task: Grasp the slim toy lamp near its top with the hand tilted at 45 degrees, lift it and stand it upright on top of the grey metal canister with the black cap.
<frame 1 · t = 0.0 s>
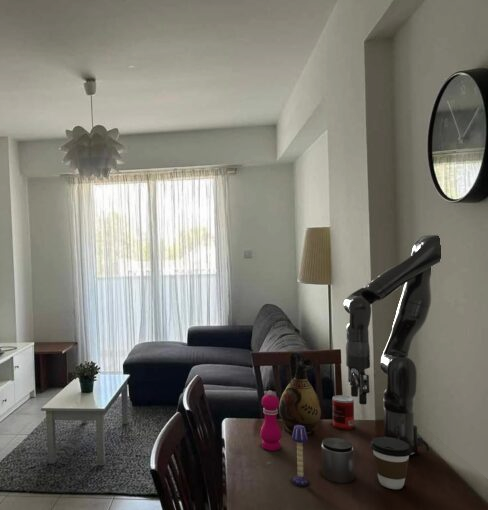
hand: (358, 400, 160), 17 cm above the table, tool pointing down, fingers open, 8 cm apart
ceramic jug: (298, 430, 179), on the table
canned food: (343, 426, 182), on the table
coffee cup: (391, 484, 136), on the table
toy lamp: (300, 482, 138), on the table
pepper mill: (271, 447, 164), on the table
grey metal canister: (337, 475, 142), on the table
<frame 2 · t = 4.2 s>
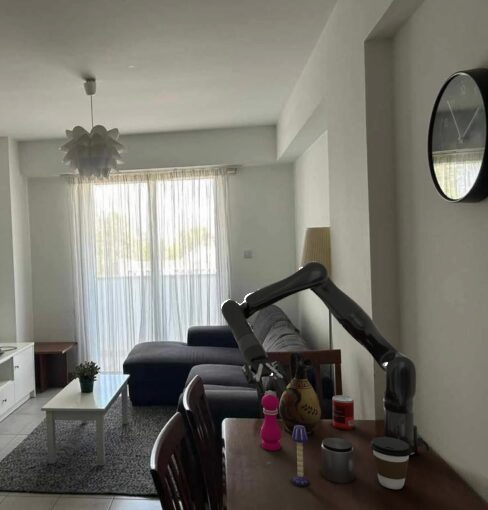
hand: (274, 392, 149), 24 cm above the table, tool tilted 45°, fingers open, 8 cm apart
nothing on the table moved.
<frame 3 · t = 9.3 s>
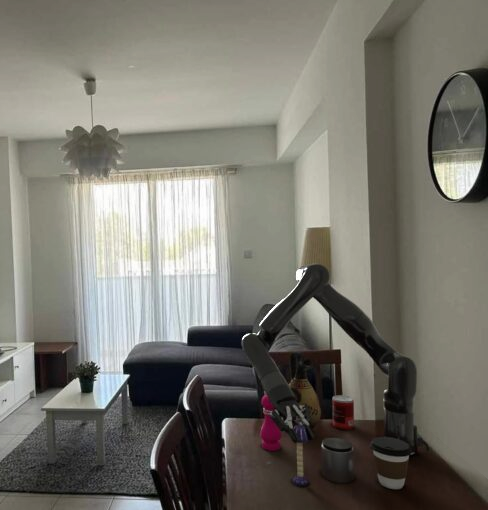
hand: (304, 440, 136), 13 cm above the table, tool tilted 45°, fingers closed on toy lamp, 4 cm apart
toy lamp: (300, 482, 138), on the table, touching gripper
everything else where it was.
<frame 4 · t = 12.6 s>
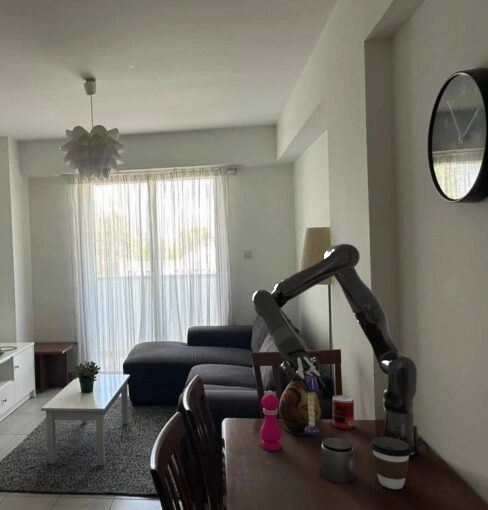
hand: (316, 390, 138), 28 cm above the table, tool tilted 45°, fingers closed on toy lamp, 4 cm apart
toy lamp: (312, 432, 139), point 14 cm above the table, touching gripper
everything else where it was.
when the fingers open (23 cm above the table, at t = 16.1 s): toy lamp stays where it is, resting on grey metal canister.
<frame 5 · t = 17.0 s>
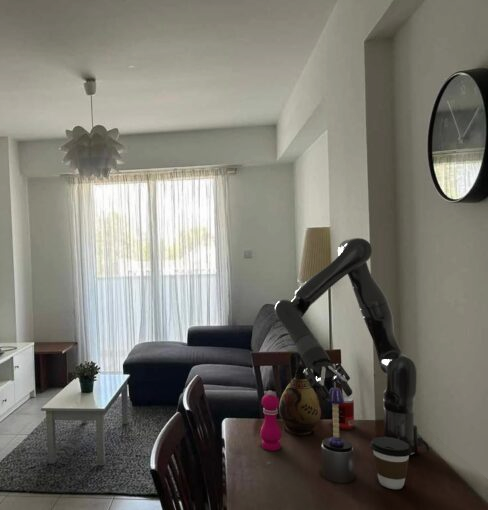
hand: (339, 396, 141), 25 cm above the table, tool tilted 45°, fingers open, 8 cm apart
toy lamp: (336, 443, 142), point 10 cm above the table, touching grey metal canister
everything else where it was.
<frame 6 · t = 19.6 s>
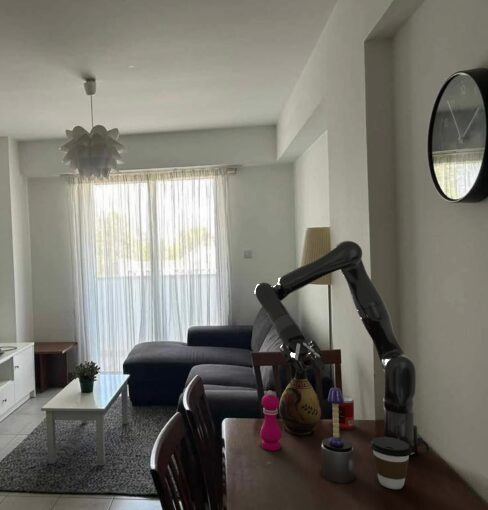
hand: (312, 370, 151), 30 cm above the table, tool tilted 45°, fingers open, 8 cm apart
nothing on the table moved.
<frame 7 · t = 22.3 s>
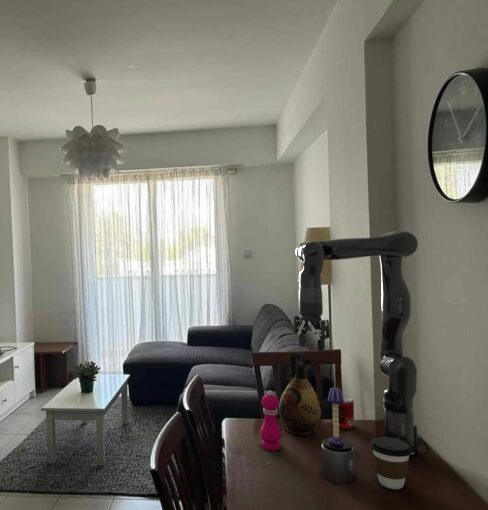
hand: (311, 348, 156), 36 cm above the table, tool pointing down, fingers open, 8 cm apart
nothing on the table moved.
at the end: toy lamp 0.2 cm off-centre on the grey metal canister, point 9.8 cm above the grey metal canister's base; toy lamp tilted 0°; the gripper is holding nothing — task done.
